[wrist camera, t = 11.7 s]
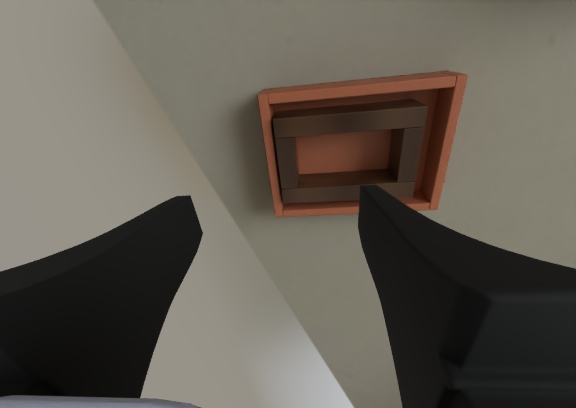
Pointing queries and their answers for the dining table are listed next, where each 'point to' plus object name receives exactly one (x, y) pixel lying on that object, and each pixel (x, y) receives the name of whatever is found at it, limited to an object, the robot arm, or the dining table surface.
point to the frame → (344, 119)
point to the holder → (366, 135)
